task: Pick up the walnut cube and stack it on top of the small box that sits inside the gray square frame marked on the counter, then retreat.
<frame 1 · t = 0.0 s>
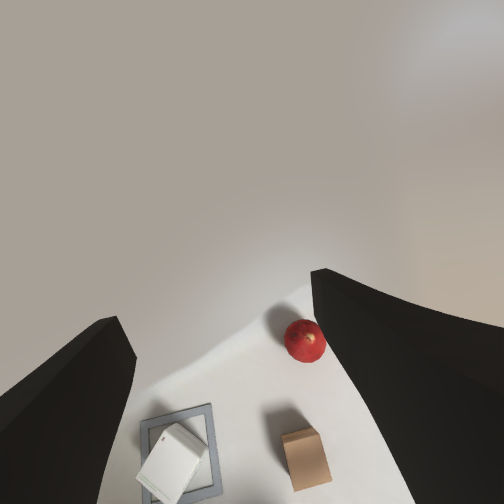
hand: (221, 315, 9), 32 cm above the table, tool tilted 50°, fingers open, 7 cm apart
gray square frame: (179, 455, 34), on the table
onion: (301, 343, 39), on the table
walnut cube: (301, 450, 34), on the table
small box: (180, 454, 34), on the table
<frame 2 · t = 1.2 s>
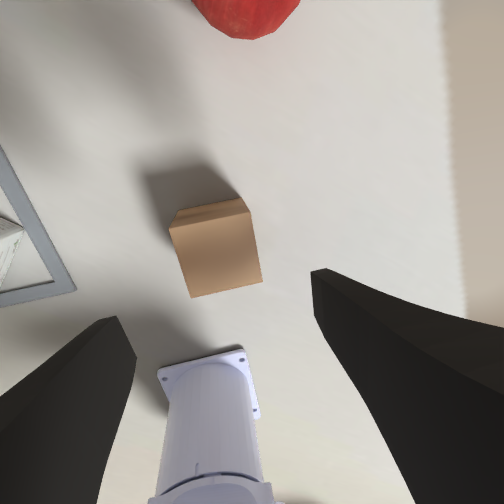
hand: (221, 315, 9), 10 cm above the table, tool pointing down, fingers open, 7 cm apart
walnut cube: (217, 233, 19), on the table
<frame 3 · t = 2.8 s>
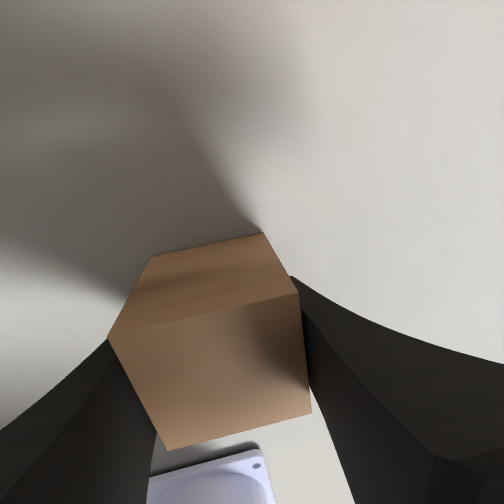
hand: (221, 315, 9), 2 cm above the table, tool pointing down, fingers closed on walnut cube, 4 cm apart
walnut cube: (220, 292, 11), on the table, touching gripper
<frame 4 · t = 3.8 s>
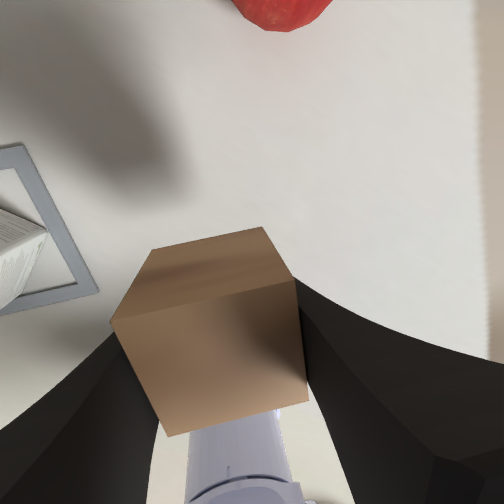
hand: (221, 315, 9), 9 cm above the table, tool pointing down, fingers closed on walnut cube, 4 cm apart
walnut cube: (220, 285, 11), point 8 cm above the table, touching gripper
when the fingers open (8 cm above the table, at t = 5.3 s): walnut cube drops 1 cm, resting on small box.
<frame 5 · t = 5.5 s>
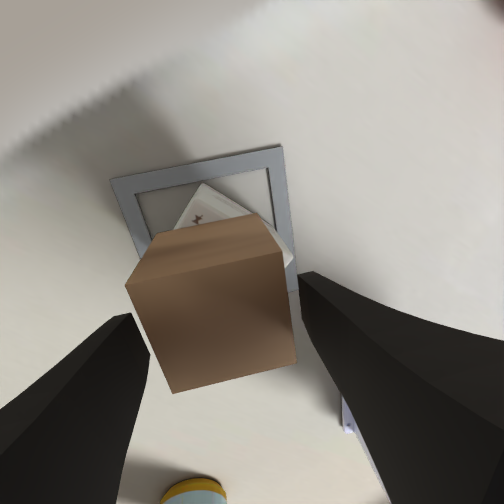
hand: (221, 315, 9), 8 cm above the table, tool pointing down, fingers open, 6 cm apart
gray square frame: (217, 241, 17), on the table
walnut cube: (218, 267, 12), point 5 cm above the table, touching small box
bottle: (194, 492, 28), on the table
small box: (217, 239, 17), on the table, touching walnut cube
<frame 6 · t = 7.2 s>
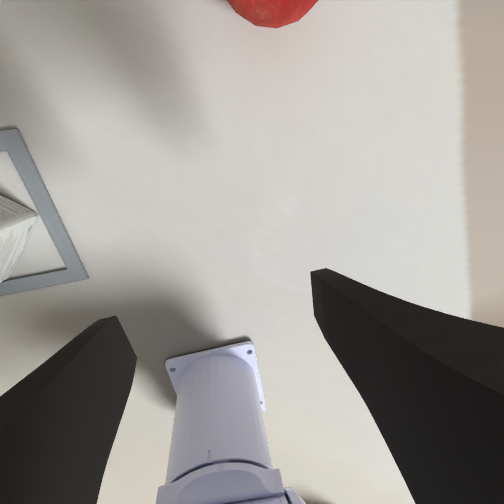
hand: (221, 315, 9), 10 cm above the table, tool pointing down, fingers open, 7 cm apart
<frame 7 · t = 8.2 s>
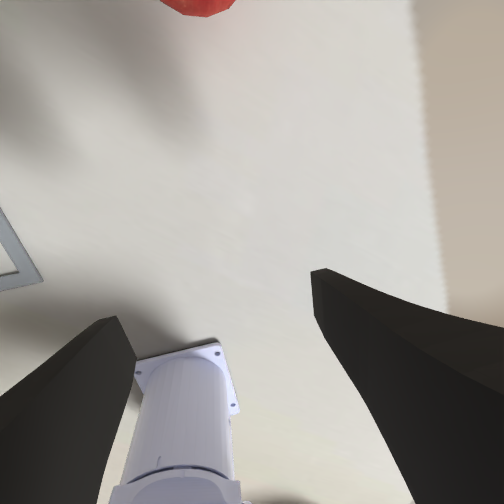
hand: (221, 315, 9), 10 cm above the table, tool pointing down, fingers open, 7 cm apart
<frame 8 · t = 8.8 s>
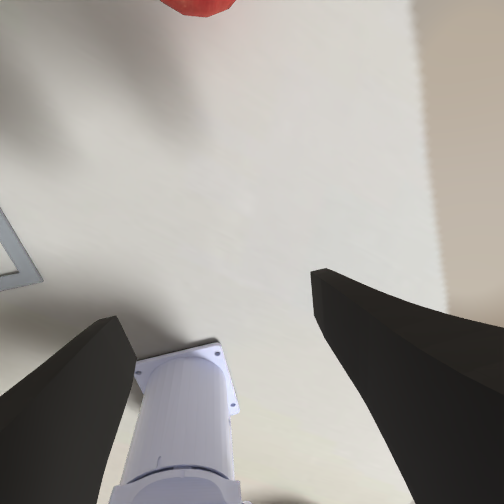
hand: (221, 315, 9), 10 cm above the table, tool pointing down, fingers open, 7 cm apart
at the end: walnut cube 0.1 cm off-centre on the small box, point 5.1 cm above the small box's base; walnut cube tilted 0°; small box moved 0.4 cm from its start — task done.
